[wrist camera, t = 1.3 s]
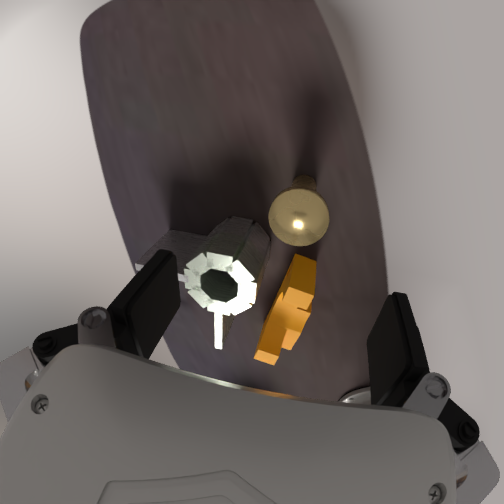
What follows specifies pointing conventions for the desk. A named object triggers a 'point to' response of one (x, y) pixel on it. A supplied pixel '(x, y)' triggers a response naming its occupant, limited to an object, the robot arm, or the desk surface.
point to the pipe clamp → (288, 310)
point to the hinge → (219, 267)
